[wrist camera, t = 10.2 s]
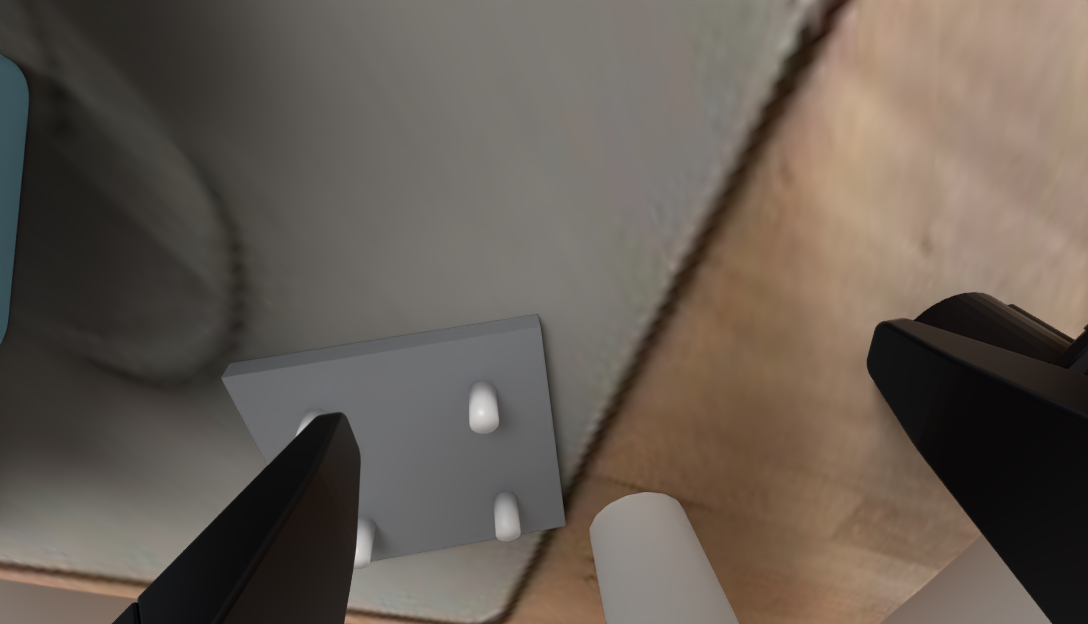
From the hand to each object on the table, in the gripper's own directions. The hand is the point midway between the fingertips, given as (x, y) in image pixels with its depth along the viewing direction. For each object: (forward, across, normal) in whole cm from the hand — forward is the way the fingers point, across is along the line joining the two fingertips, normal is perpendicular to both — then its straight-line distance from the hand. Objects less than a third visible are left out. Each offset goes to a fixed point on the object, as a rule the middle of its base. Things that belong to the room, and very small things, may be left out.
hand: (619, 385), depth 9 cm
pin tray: (+13, +7, +13) cm, 20 cm away
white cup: (+13, -4, +22) cm, 26 cm away
